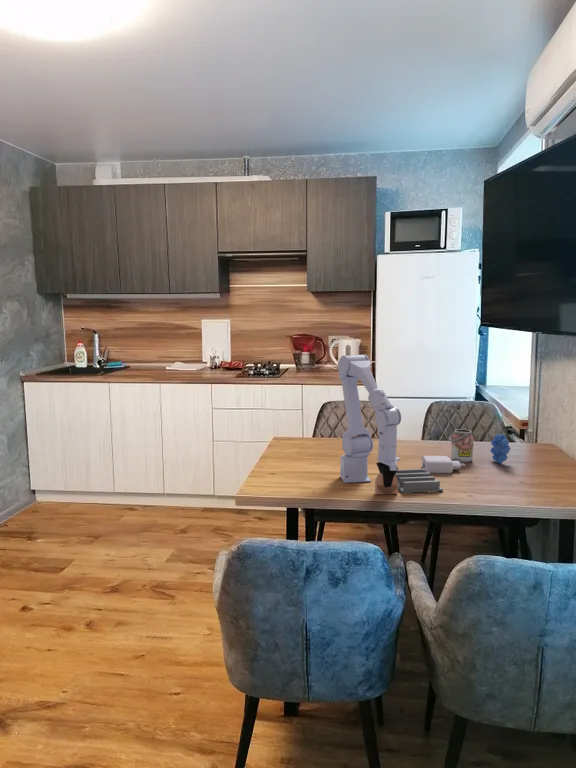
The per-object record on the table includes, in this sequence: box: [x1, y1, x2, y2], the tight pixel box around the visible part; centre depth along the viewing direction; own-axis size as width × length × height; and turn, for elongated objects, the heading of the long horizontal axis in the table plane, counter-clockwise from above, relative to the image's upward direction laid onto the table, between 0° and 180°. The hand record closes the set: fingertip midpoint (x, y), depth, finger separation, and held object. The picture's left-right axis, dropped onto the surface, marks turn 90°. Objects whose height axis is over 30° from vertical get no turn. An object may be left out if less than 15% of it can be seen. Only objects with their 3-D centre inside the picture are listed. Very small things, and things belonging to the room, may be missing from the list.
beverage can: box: [448, 428, 475, 464], centre depth 217 cm, size 9×8×12 cm
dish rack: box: [395, 468, 444, 494], centre depth 188 cm, size 14×15×4 cm
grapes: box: [490, 433, 511, 465], centre depth 212 cm, size 12×7×12 cm, turn 6°
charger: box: [421, 455, 466, 474], centre depth 205 cm, size 5×9×15 cm
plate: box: [374, 472, 399, 495], centre depth 180 cm, size 7×2×7 cm, turn 96°
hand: (386, 485), depth 180 cm, fingers closed on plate, 2 cm apart
